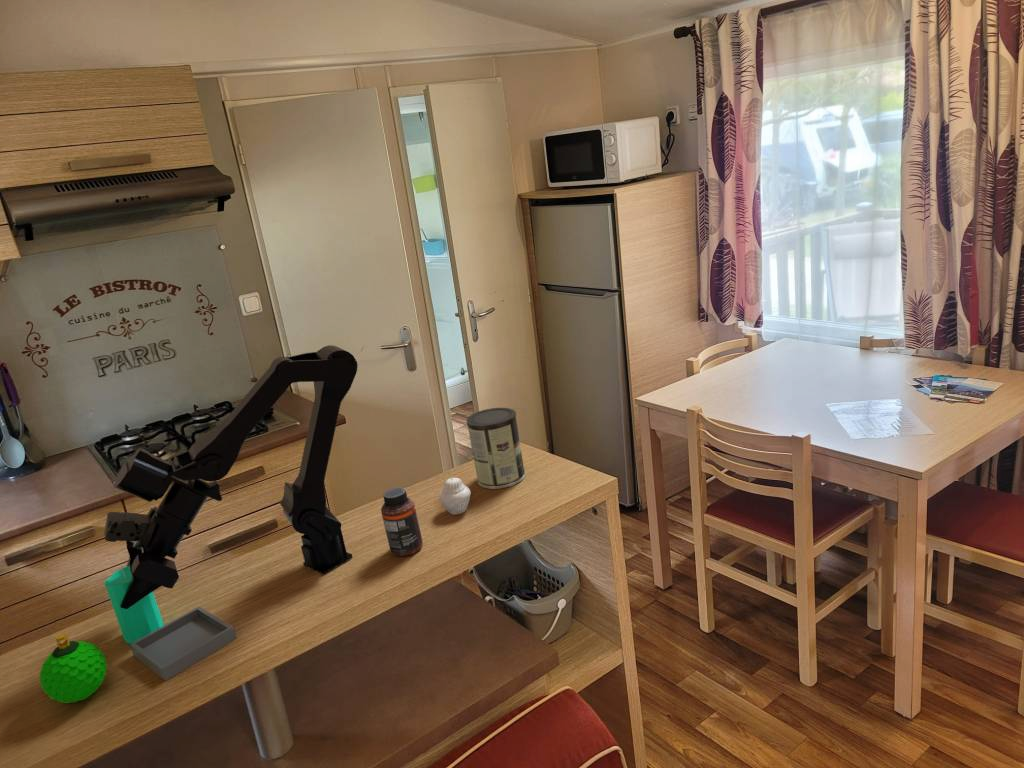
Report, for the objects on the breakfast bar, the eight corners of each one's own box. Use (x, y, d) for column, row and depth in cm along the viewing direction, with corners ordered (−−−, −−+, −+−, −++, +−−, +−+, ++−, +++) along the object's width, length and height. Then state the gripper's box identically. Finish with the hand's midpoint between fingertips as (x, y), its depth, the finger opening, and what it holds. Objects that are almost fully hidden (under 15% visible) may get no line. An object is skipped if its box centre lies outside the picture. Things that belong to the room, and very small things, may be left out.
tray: (202, 616, 122) (199, 606, 121) (236, 638, 114) (233, 626, 114) (133, 655, 114) (129, 644, 113) (165, 681, 106) (161, 669, 106)
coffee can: (500, 465, 164) (490, 404, 160) (535, 473, 157) (526, 410, 153) (466, 483, 157) (455, 421, 153) (501, 493, 150) (490, 428, 146)
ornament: (106, 669, 111) (86, 611, 108) (120, 693, 105) (99, 632, 102) (46, 698, 107) (22, 639, 104) (56, 725, 100) (32, 663, 98)
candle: (153, 616, 124) (132, 553, 120) (170, 626, 120) (149, 561, 116) (117, 637, 119) (94, 571, 116) (134, 648, 116) (110, 581, 112)
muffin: (435, 513, 146) (429, 480, 144) (460, 500, 149) (455, 468, 147) (454, 521, 141) (448, 488, 139) (479, 508, 145) (474, 475, 143)
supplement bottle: (410, 537, 137) (398, 481, 134) (430, 546, 133) (418, 488, 130) (383, 552, 134) (371, 495, 130) (403, 561, 129) (390, 502, 126)
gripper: (123, 475, 122) (70, 559, 121) (130, 512, 107) (69, 609, 105) (187, 501, 128) (137, 582, 127) (202, 540, 112) (145, 633, 111)
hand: (122, 600), depth 117 cm, fingers closed on candle, 5 cm apart
